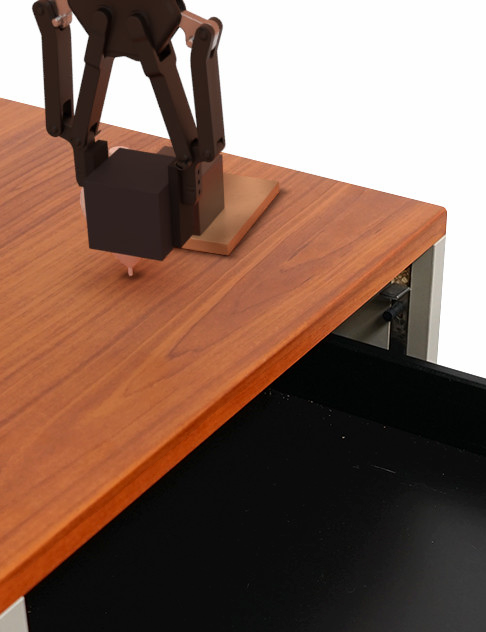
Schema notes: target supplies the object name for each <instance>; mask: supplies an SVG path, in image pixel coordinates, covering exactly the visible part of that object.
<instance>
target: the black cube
mask: <svg viewBox="0 0 486 632" xmlns="http://www.w3.org/2000/svg"><path fill="white" fill-rule="evenodd" d="M175 158H176V157H173V156H167V155H161V154H156V153H155V152H148V151H143V150H137V149H131V148H129V149H125V148H118V149H117V150H116V151H115V152H114V153H113V154H112V155H111V156H109V158H107V159H106V160H105V161H104V162H103V163H102V164H101V165H100V166H99V167H98V168H96V169H95V170H94V171H93V172H92V173H91V174H90V175H89V176H87V177H86V178H85V179H84V180H83V189H84V199H85V210H86V219H85V221H86V220H87V221H86V229H87V231H86V232H87V239H88V240H87V241H88V249H91V250H95V251H96V250H97V251H101V252H106V253H111V252H112V253H118V254H123V255H129V256H135V257H141V259H147V260H152V261H157V262H163V261H165V259H166V258H167V257H168V256H169V255H170V253H171V252H172V251H173V250H174V249H175V247H173V246H172V228H171V209H170V191H169V182H168V165H169V164H170V163H171V162H172V161H173V160H174V159H175ZM192 212H193V226H194V206H193V205H192ZM112 253H111V254H112Z"/></svg>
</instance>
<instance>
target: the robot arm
mask: <svg viewBox="0 0 486 632" xmlns="http://www.w3.org/2000/svg"><path fill="white" fill-rule="evenodd" d="M31 10H32V13H33V16H34V17H33V18H34V19H35V22H36V25H37V28H38V30H39V34H40V39H41V56H42V57H41V59H42V78H43V98H44V99H43V101H44V119H45V120H44V121H45V130H46V132H47V134H48V135H49V136H50V137H52V138H58V137H60V138H61V139H63V140H65V141H66V142H68V143H69V144H70V146H71V148H72V151H73V152H72V153H73V163H74V171H75V172H74V173H75V181H76V182H77V185H78V187H81V188H82V187H83V180H84V179H85V178H86V177H87V176H89V175H90V174H91V173H92V172H93V171H94V170H95V169H96V168H98V167H99V166H100V165H101V164H102V163H103V162H104V161H105V160H106V159H107V158H109V157H110V156H109V144H108V143H109V142H108V140H104V139H97V140H96V137H97V136H98V135H99V134H101V132H102V130H101V129H99V128H100V124H101V118H102V114H103V109H104V106H105V100H106V97H107V92H108V87H109V85H110V79H111V74H112V70H113V66H114V61H115V59H116V58H123V57H124V58H128V59H130V60H132V61H135V62H139V63H140V65H141V69H142V71H143V74H144V76H145V77H147V78H148V80H149V82H150V84H151V87H152V92H153V94H154V96H155V99H156V102H157V106H158V108H159V111H160V115H161V117H162V120H163V123H164V126H165V129H166V131H167V135H168V137H169V140H170V143H171V147H173V149H174V152H175V155H176V158H175V159H174V160H173V161H172V162H171V163H170V164H169V165H168V182H169V191H170V209H171V228H172V246H173V247H174V248H178V249H183V248H182V247H183V245H184V244H185V243H186V242H187V241H188V240H189V239H190V237H191V236H192V235H193V212H192V205H193V206H194V205H195V204H196V203H197V202H198V201H199V200H200V199H201V196H202V193H203V187H202V162H204V161H205V162H212V161H213V160H214V159H215V158H216V157H217V156H218V155H219V154H222V152H223V151H224V149H226V144H227V143H226V134H225V123H224V121H225V120H224V110H223V99H222V88H221V79H220V67H219V56H218V55H219V53H218V50H219V45H220V42H221V38H222V33H223V29H224V25H223V22H222V20H221V19H220V18H218V17H217V16H211V17H209V18H208V19H207V18H205V17H202V16H200V15H198V14H195V13H193V12H192V11H190V10H187V6H186V3H185V1H184V0H36V1H34V3H33V4H32V6H31ZM73 15H74V17H75V19H77V21H78V23H79V24H80V26H81V27H82V29H83V30H84V31H85V33H86V34H87V36H88V37H87V41H86V47H85V51H84V56H83V62H84V67H83V72H82V78H81V82H80V87H79V91H78V96H77V101H76V104H75V103H74V102H75V100H74V75H73V74H74V70H73V45H72V44H73V43H72V29H71V24H72V22H73ZM179 29H181V30H182V31H183V33H184V39H185V45H186V47H188V48H189V49H190V57H189V63H190V66H189V67H190V74H191V75H190V76H191V84H192V85H191V87H192V95H193V105H194V114H195V115H194V116H195V119H194V116H193V113H192V110H191V106H190V104H189V100H188V97H187V94H186V91H185V88H184V85H183V82H182V79H181V76H180V73H179V70H178V67H177V61H178V59H177V54H176V52H175V48H174V45H173V42H172V39H173V38H174V36H175V35H176V34H177V32H178V31H179ZM75 105H76V106H75Z"/></svg>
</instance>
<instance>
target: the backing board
mask: <svg viewBox="0 0 486 632" xmlns="http://www.w3.org/2000/svg"><path fill="white" fill-rule="evenodd" d="M155 154H161V155H167V156H173V157H176V155H175V152H174V149H173V146H168V145H163V146H162V147H161V148H160V150H158V151H157V152H156V153H155ZM202 187H203V193H202V196H201V199H200V200H199V201H198V202H197V203H196V204H195V205H194V226H193V235H192V236H191V237H190V239H189V240H188V241H187V242H186V243H185V244H184V245H183V247H182V248H181V249H185V250H191V251H196V252H197V251H198V252H204V253H209V254H217V255H223V256H229V255H230V254H231V253H232V251H234V249H235V247H236V246H238V244H239V243H240V242H241V240H242V239H243V238H244V236H245V235H246V234H247V233H248V232H249V231H250V229H251V228H252V227H253V225H254V224H255V223H256V221H258V219H259V218H260V217H261V215H262V214H263V213H264V212H265V211H266V210H267V208H268V206H269V205H271V203H272V202H273V200H274V199H275V198H276V197H277V196H278V194H280V181H279V180H273V179H266V178H261V177H260V178H259V177H253V176H246V175H242V174H241V175H240V174H233V173H226V172H224V159H223V154H222V153H220V154H219V155H218V156H217V157H216V158H215V159H214V160H213V161H212V162H205V161H204V162H202Z"/></svg>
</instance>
